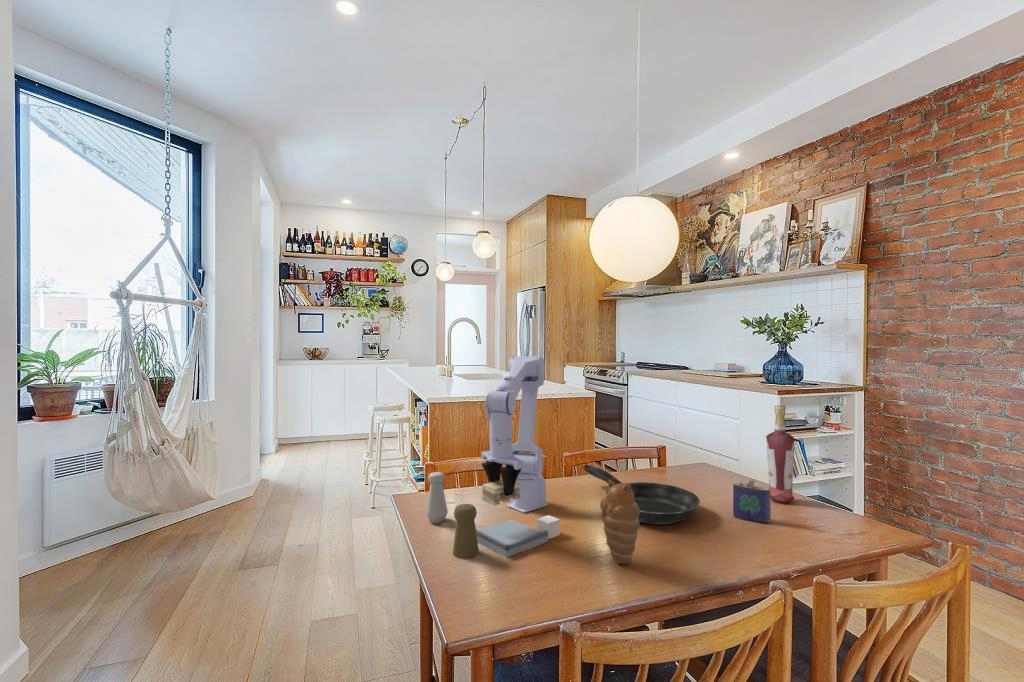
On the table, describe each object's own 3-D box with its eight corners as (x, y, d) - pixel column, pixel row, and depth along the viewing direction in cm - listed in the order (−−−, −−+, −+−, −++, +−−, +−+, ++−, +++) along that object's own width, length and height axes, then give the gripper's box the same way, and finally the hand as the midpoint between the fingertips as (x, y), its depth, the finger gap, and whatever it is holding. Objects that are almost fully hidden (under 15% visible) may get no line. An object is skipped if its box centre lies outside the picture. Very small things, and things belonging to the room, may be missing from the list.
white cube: (548, 530, 128) (548, 515, 128) (559, 535, 125) (559, 519, 125) (537, 534, 125) (537, 518, 125) (548, 539, 122) (548, 523, 122)
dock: (511, 525, 131) (511, 515, 131) (548, 541, 121) (548, 531, 121) (471, 538, 123) (470, 528, 123) (506, 557, 112) (506, 546, 112)
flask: (771, 522, 131) (771, 481, 131) (769, 525, 128) (768, 484, 128) (734, 514, 137) (734, 475, 136) (731, 517, 134) (730, 478, 134)
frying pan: (720, 520, 133) (720, 494, 133) (648, 538, 122) (647, 511, 122) (617, 478, 172) (617, 459, 172) (555, 489, 161) (554, 468, 161)
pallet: (507, 493, 130) (507, 478, 130) (519, 498, 126) (519, 483, 126) (482, 500, 125) (482, 484, 125) (494, 505, 121) (494, 489, 121)
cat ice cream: (594, 563, 109) (593, 481, 108) (613, 551, 114) (612, 473, 114) (631, 576, 103) (630, 489, 102) (649, 563, 109) (647, 481, 108)
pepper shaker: (468, 560, 111) (467, 511, 111) (447, 554, 114) (446, 507, 114) (484, 550, 116) (483, 503, 116) (463, 545, 119) (462, 499, 119)
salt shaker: (443, 525, 132) (442, 476, 132) (423, 524, 133) (422, 475, 133) (450, 517, 138) (449, 470, 137) (431, 516, 139) (430, 469, 139)
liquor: (794, 506, 142) (794, 408, 141) (766, 502, 145) (765, 407, 145) (795, 499, 148) (794, 405, 148) (767, 495, 152) (766, 403, 151)
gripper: (471, 436, 129) (472, 489, 129) (506, 445, 117) (507, 502, 117) (493, 432, 133) (494, 483, 133) (529, 441, 122) (529, 496, 122)
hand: (501, 492), depth 126 cm, fingers closed on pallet, 5 cm apart
